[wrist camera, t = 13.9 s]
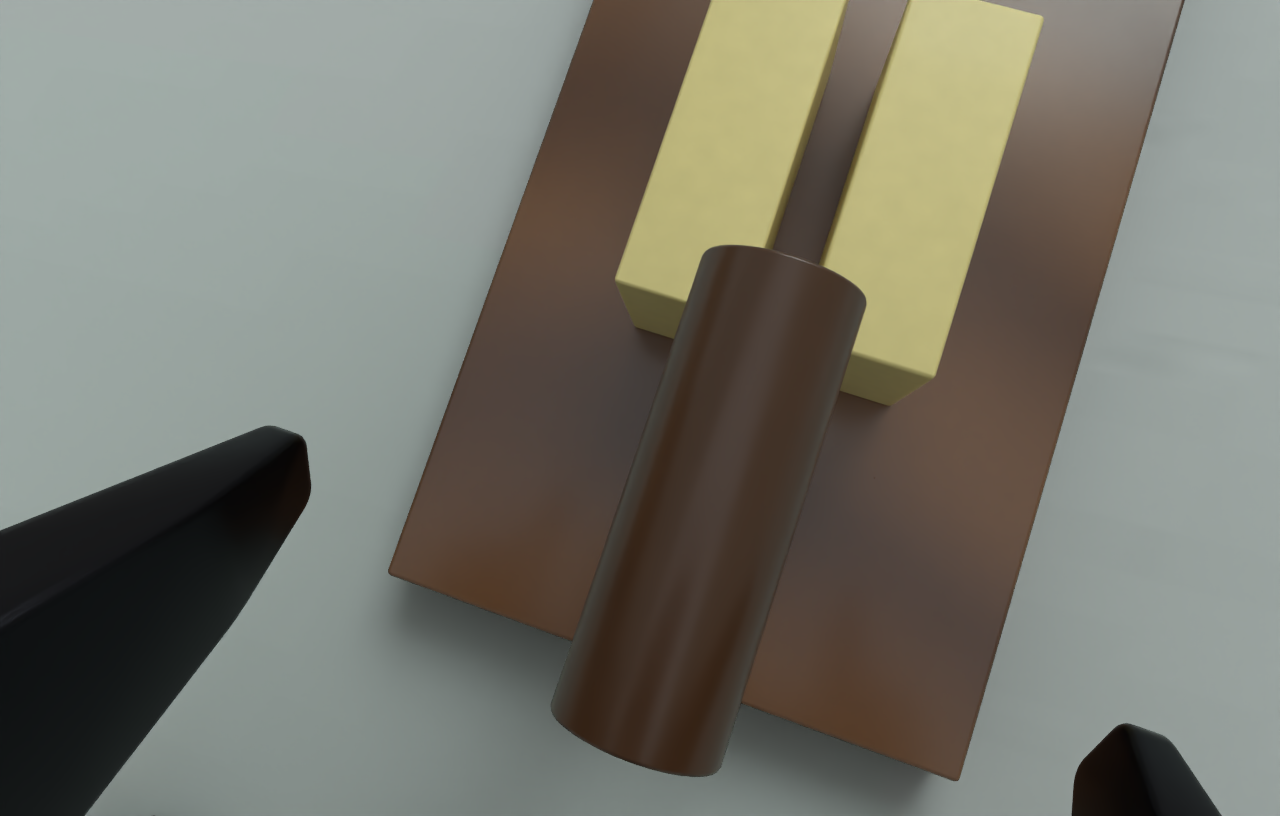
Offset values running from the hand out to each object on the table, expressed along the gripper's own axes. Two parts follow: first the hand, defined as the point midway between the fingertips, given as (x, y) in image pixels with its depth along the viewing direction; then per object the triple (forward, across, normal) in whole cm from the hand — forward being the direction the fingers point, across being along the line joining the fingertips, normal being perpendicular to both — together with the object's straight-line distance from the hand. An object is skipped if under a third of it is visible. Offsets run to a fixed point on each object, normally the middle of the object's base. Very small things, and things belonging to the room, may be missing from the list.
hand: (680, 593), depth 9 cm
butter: (+11, 0, +1) cm, 11 cm away
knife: (+6, 0, +5) cm, 8 cm away
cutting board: (+12, 0, +1) cm, 12 cm away
